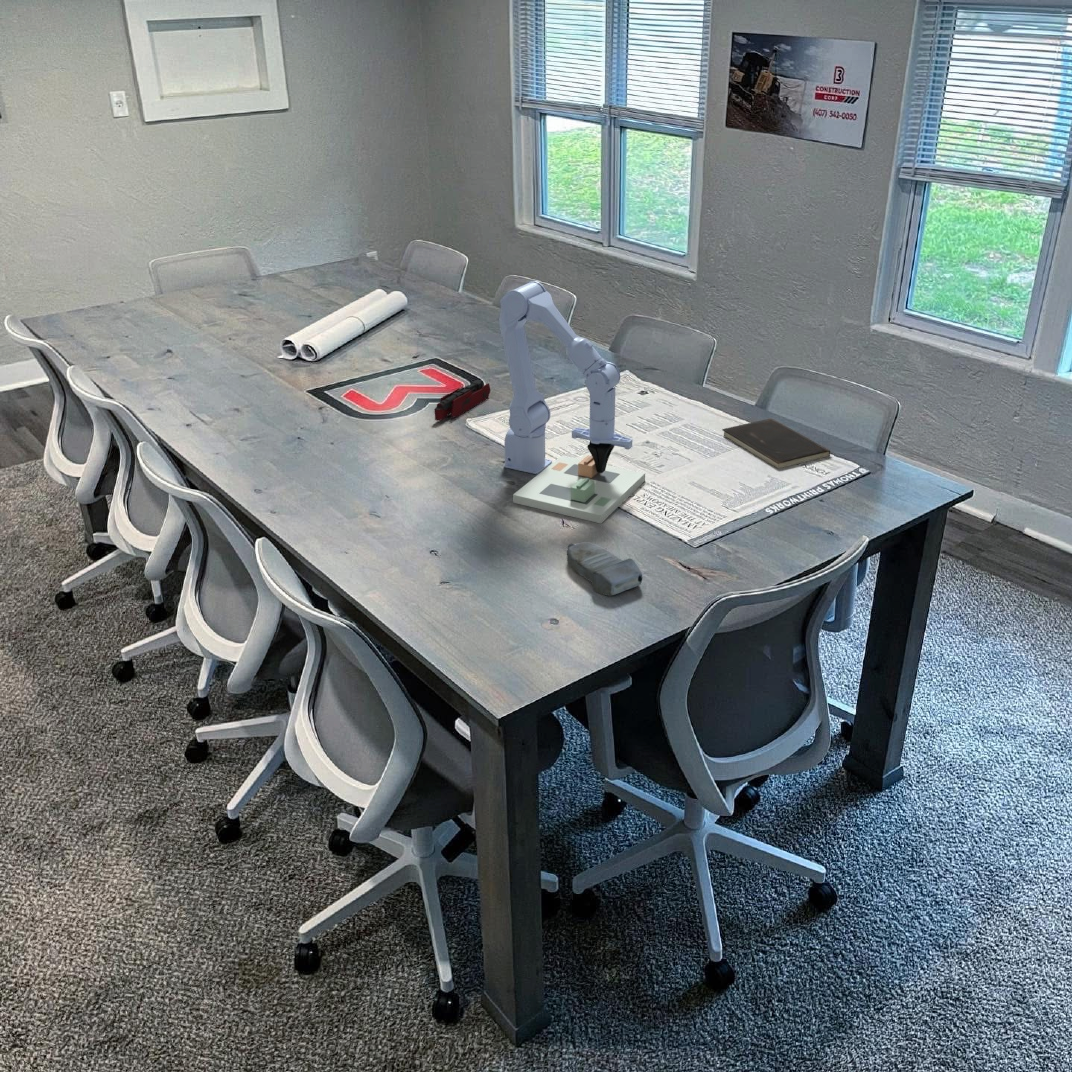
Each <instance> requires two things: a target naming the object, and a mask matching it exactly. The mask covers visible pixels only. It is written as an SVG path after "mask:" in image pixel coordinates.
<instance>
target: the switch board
mask: <svg viewBox="0 0 1072 1072" xmlns="http://www.w3.org/2000/svg"><path fill="white" fill-rule="evenodd" d="M582 460H583V459H582V458H576V457H572V456H566V455H563V454H562V455H560V457H558V458H557V459H555V460H554V461H552V463H551V464H550V465H548V466H547V467H546V468H545V469H543V470H542V471H541V472H540V473H538V474H536V476H535V477H533V478H532V479H530V480H529V481H528V482H527V483H525V484H524V485H523V486H522V487H521V488H520V489H518V490H516V492H514V493H513V494H512V502H513V504H517V505H518V504H519V505H523V506H526V507H531V508H535V509H539V510H543V511H547V512H551V513H556V514H560V515H564V516H569V517H572V518H577V519H581V520H584V521H589V522H593V523H598V524H602V523H603V522H604V521H605V520H606V519H607V518H608V517H609V516H610V515H611V514H612V513H614V511H615V510H617V508H618V507H619V506H620V505H622V502H623V503H624V502H625V501H626V500H627V499H628V498H629V497H630V496H631V495H632V494H633V493H634V492H635V491H636V490H637V489H638V488H639V487H640V486H641V485H642V484H643V483H644V482H646V472H643V471H642V472H641V471H637V470H633V469H628V468H625V467H620V466H616V465H615V466H613V465H608V464H607V465H606V469H605V471H604V472H603V473H597V474H596V475H594V476H593V477H592V478H590V477H585V476H580V475H578V463H579V462H580V461H582ZM585 478H589V480H590V481H594V482H595V494H594V495H592V496H591V497H590V498H589V499H588V500H587V501H586V502H585V503H584V502H580V501H576V500H571V486H573V485H574V484H575V483H576V482H577V481H578V480H580V479H585ZM624 500H625V501H624Z"/></svg>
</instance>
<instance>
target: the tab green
mask: <svg viewBox="0 0 1072 1072" xmlns="http://www.w3.org/2000/svg"><path fill="white" fill-rule="evenodd" d="M594 494H595V482H594V481H590V480H589V478H585V479H580V480H578V481H577V482H576V483H575V484H574V485H573V486H571V500H576V501H580V502H584V503H585V502H586V501H587V500H588V499H589V498H590V497H591V496H592V495H594Z"/></svg>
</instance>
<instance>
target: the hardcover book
mask: <svg viewBox="0 0 1072 1072" xmlns="http://www.w3.org/2000/svg"><path fill="white" fill-rule="evenodd" d="M721 430H722V431H723V436H724V437H725V438H727V439H729V440H730V441H732V440H733V441H732V442H734V443H735V444H737V445H739V446H740V447H742V448H743V449H745V450H746V451H749V452H751V453H752V454H753V455H755V456H757V457H759V458H760V459H762V460H763V461H765V462H766V463H768V464H770V465H772V467H773V466H774V467H775V468H777V469H782V468H786V467H789V466H790V467H791V466H793V465H794V466H795V465H798V464H802V463H806V462H809V461H814V460H818V459H822V458H826V457H830V456H831V450H830V449H828V448H826V447H824V446H822V445H820V444H819V443H817V442H815V441H813V440H812V439H811V438H810V439H809V438H808V437H806V436H804V435H803V434H800V433H799V432H797V431H796V430H793V429H792V428H791V427H788V426H786V425H785V424H783V423H781V422H779V421H777V420H775V419H774V418H772V417H771V418H766V419H762V420H761V419H760V420H757V421H753V422H748V423H744V424H739V425H735V426H731V427H726V428H722V429H721Z"/></svg>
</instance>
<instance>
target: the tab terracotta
mask: <svg viewBox="0 0 1072 1072" xmlns="http://www.w3.org/2000/svg"><path fill="white" fill-rule="evenodd" d="M597 473H598V472H597V470H596V466H595V462H594V459H593V457H592V455H591V454H590V455H586V456H585V457H584V458H583V459H582V461H580V462H579V463H578V475H580V476H585V477H590V478H592V477H593V476H594V475H596V474H597Z"/></svg>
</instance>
